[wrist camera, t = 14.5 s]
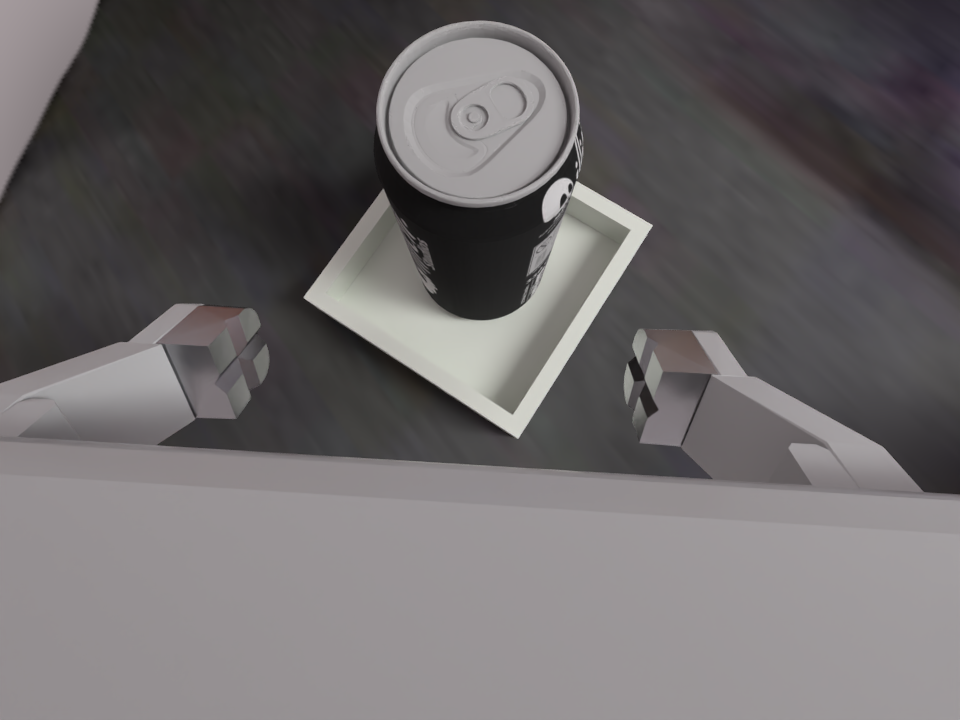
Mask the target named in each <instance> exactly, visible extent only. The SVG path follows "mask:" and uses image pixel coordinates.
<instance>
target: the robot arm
mask: <svg viewBox="0 0 960 720" xmlns="http://www.w3.org/2000/svg"><path fill="white" fill-rule="evenodd" d="M260 327H261V324H260V321H259V318H258V316H257V313H256V312H255V311H254V310H253V309H251V308H247V307H233V306H220V305H204V304H189V303H181V304H175V305H174V306H172V307H171V308H170V309H169V310H167V311H166V312H165V313H164V314H162V315H161V316H160V317H159V318H157V319H156V320H155V321H154V322H152V323H151V324H150V325H149V326H147V327H146V328H145V329H144V330H142V331H141V332H140V333H139V334H137V335H136V336H135V337H134V338H132V339H131V340H130V341H129V342H118V343H116V344H113V345H110V346H107V347H104V348H101V349H98V350H95V351H93V352H90V353H87V354H84V355H81V356H78V357H75V358H72V359H69V360H67V361H64V362H61V363H58V364H55V365H52V366H49V367H46V368H43V369H41V370H38V371H35V372H32V373H29V374H26V375H23V376H20V377H18V378H15V379H12V380H9V381H6V382H3V383H0V720H960V494H943V493H927V492H923V491H922V490H921V489H920V487H919V486H918V485H917V484H916V483H915V482H914V481H913V480H912V479H911V477H910V476H909V475H908V474H907V473H906V472H905V471H904V470H903V468H902V467H901V466H900V465H899V464H898V463H897V462H896V461H895V460H894V458H893V457H892V456H891V455H890V454H889V453H888V452H887V451H886V450H885V448H884V447H882V446H880V445H879V444H877V443H875V442H873V441H871V440H869V439H868V438H866V437H864V436H862V435H860V434H859V433H857V432H855V431H853V430H851V429H849V428H848V427H846V426H844V425H842V424H840V423H838V422H837V421H835V420H833V419H831V418H829V417H828V416H826V415H824V414H822V413H820V412H818V411H817V410H815V409H813V408H811V407H809V406H807V405H806V404H804V403H802V402H800V401H798V400H797V399H795V398H793V397H791V396H789V395H787V394H786V393H784V392H782V391H780V390H778V389H776V388H775V387H773V386H771V385H769V384H767V383H766V382H764V381H762V380H760V379H758V378H756V377H748V376H747V375H746V374H745V372H744V371H743V369H742V368H741V366H740V365H739V364H738V362H737V361H736V359H735V358H734V356H733V355H732V354H731V352H730V351H729V349H728V348H727V346H726V345H725V343H724V342H723V341H722V339H721V338H720V336H719V335H718V333H716V332H714V331H698V330H663V329H639V330H638V332H637V333H636V335H635V338H634V342H633V345H632V347H633V349H634V352H635V355H636V357H634V358H633V359H632V360H631V361H630V362H629V363H628V364H627V368H626V372H625V377H624V394H625V399H626V403H627V406H629V407H630V408H631V409H633V410H634V415H633V418H632V422H633V425H634V428H635V431H636V434H637V437H638V440H639V443H647V444H659V445H671V446H682V449H683V450H684V451H685V452H686V453H687V454H688V455H689V456H690V457H691V458H692V459H693V460H694V461H695V462H696V463H697V464H698V465H699V466H700V467H701V468H702V469H703V470H704V471H706V472H707V473H708V474H709V475H710V476H711V477H712V478H713V479H698V478H682V477H665V476H649V475H632V474H616V473H599V472H583V471H567V470H550V469H534V468H517V467H501V466H484V465H468V464H451V463H435V462H419V461H402V460H386V459H369V458H353V457H337V456H320V455H304V454H288V453H271V452H255V451H239V450H222V449H206V448H190V447H173V446H157V444H159V443H160V442H162V441H163V440H165V439H166V438H168V437H169V436H171V435H172V434H174V433H175V432H177V431H179V430H180V429H182V428H183V427H185V426H186V425H188V424H189V423H191V422H192V421H194V420H195V418H223V419H236V418H237V417H238V416H239V414H240V413H241V411H242V410H243V409H244V407H245V406H246V404H247V403H248V402H249V400H250V399H251V396H250V393H249V390H251V389H253V388H255V387H257V386H259V385H260V384H261V383H262V382H263V380H264V379H265V377H266V375H267V371H268V367H269V352H268V348H267V345H266V343H265V342H264V341H263V340H262V339H261V338H260V337H259V336H258V335H257V333H258V331H259V329H260Z"/></svg>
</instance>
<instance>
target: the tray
mask: <svg viewBox="0 0 960 720" xmlns="http://www.w3.org/2000/svg"><path fill="white" fill-rule="evenodd" d="M652 226H653V225H651V224H649V223H648V222H646V221H644V220H642V219H641V218H639V217H637V216H636V215H634V214H632V213H630V212H629V211H627V210H625V209H623V208H622V207H620V206H618V205H617V204H615V203H613V202H611V201H610V200H608V199H606V198H604V197H603V196H601V195H599V194H598V193H596V192H594V191H592V190H591V189H589V188H587V187H585V186H584V185H582V184H580V183H579V182H577V181H576V184H575V186H574V189H573V192H572V195H571V198H570V200H569V203H568V206H567V209H566V212H565V214H564V217H563V220H562V223H561V225H560V228H559V231H558V234H557V237H556V239H555V242H554V245H553V248H552V251H551V253H550V256H549V259H548V262H547V264H546V267H545V270H544V273H543V276H542V278H541V281H540V284H539V286H538V288H537V289H536V291H535V293H534V294H533V295H532V297H531V298H530V299H529V300H528V301H527V302H526V303H525V304H524V305H523V306H522V307H520V308H519V309H517V310H516V311H514V312H513V313H511V314H509V315H506V316H504V317H501V318H497V319H492V320H470V319H465V318H461V317H458V316H456V315H454V314H451V313H450V312H448V311H446V310H445V309H443V308H442V307H441V306H439V305H438V304H437V303H436V302H435V301H434V300H433V299H432V298H431V296H430V295H429V294H428V292H427V290H426V289H425V287H424V285H423V283H422V280H421V278H420V275H419V273H418V270H417V268H416V266H415V263H414V261H413V258H412V256H411V254H410V251H409V249H408V246H407V244H406V242H405V239H404V237H403V234H402V232H401V230H400V227H399V225H398V222H397V220H396V217H395V215H394V213H393V210H392V208H391V205H390V203H389V201H388V198H387V196H386V193H385V191H384V189H383V190H382V191H381V192H380V194H379V195H378V197H377V198H376V199H375V201H374V202H373V203H372V205H371V206H370V207H369V209H368V210H367V212H366V213H365V214H364V216H363V217H362V218H361V220H360V221H359V222H358V224H357V225H356V226H355V228H354V229H353V231H352V232H351V233H350V235H349V236H348V237H347V239H346V240H345V241H344V243H343V244H342V246H341V247H340V248H339V250H338V251H337V252H336V254H335V255H334V256H333V258H332V259H331V261H330V262H329V263H328V265H327V266H326V267H325V269H324V270H323V271H322V273H321V274H320V276H319V277H318V278H317V280H316V281H315V282H314V284H313V285H312V286H311V288H310V289H309V291H308V292H307V293H306V295H305V296H304V297H303V298H304V299H306V300H307V301H308V302H310V303H311V304H312V305H314V306H315V307H316V308H318V309H319V310H321V311H322V312H324V313H325V314H327V315H328V316H330V317H331V318H333V319H334V320H336V321H337V322H339V323H340V324H342V325H343V326H345V327H346V328H348V329H349V330H351V331H352V332H354V333H356V334H357V335H359V336H360V337H362V338H363V339H365V340H366V341H368V342H369V343H371V344H372V345H374V346H375V347H377V348H378V349H380V350H381V351H383V352H384V353H386V354H388V355H389V356H391V357H392V358H394V359H395V360H397V361H398V362H400V363H401V364H403V365H404V366H406V367H407V368H409V369H410V370H412V371H413V372H415V373H416V374H418V375H419V376H421V377H423V378H424V379H426V380H427V381H429V382H430V383H432V384H433V385H435V386H436V387H438V388H439V389H441V390H442V391H444V392H445V393H447V394H448V395H450V396H451V397H453V398H455V399H456V400H458V401H459V402H461V403H462V404H464V405H465V406H467V407H468V408H470V409H471V410H473V411H474V412H476V413H477V414H479V415H480V416H482V417H483V418H485V419H486V420H488V421H490V422H491V423H493V424H494V425H496V426H497V427H499V428H500V429H502V430H503V431H505V432H506V433H508V434H509V435H511V436H512V437H514V438H516V439H518V438H519V437H520V435H521V433H522V432H523V430H524V429H525V427H526V426H527V424H528V422H529V421H530V419H531V418H532V416H533V414H534V413H535V411H536V410H537V408H538V407H539V405H540V403H541V402H542V400H543V399H544V397H545V395H546V394H547V392H548V391H549V389H550V388H551V386H552V384H553V383H554V381H555V380H556V378H557V376H558V375H559V373H560V372H561V370H562V369H563V367H564V365H565V364H566V362H567V361H568V359H569V357H570V356H571V354H572V353H573V351H574V350H575V348H576V346H577V345H578V343H579V342H580V340H581V338H582V337H583V335H584V334H585V332H586V331H587V329H588V327H589V326H590V324H591V323H592V321H593V319H594V318H595V316H596V315H597V313H598V312H599V310H600V308H601V307H602V305H603V304H604V302H605V300H606V299H607V297H608V296H609V294H610V293H611V291H612V289H613V288H614V286H615V285H616V283H617V281H618V280H619V278H620V277H621V275H622V273H623V272H624V270H625V269H626V267H627V266H628V264H629V262H630V261H631V259H632V258H633V256H634V254H635V253H636V251H637V250H638V248H639V247H640V245H641V243H642V242H643V240H644V239H645V237H646V235H647V234H648V232H649V231H650V229H651V228H652Z"/></svg>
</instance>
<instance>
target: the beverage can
mask: <svg viewBox="0 0 960 720" xmlns="http://www.w3.org/2000/svg"><path fill="white" fill-rule="evenodd" d="M376 119H377V126H376V130H375V137H374V158H375V164H376V169H377V173H378V176H379V179H380V181H381V184H382V186H383V189H384V191H385V193H386V196H387V198H388V201H389V203H390V205H391V208H392V210H393V213H394V215H395V217H396V220H397V222H398V225H399V227H400V230H401V232H402V234H403V237H404V239H405V242H406V244H407V246H408V249H409V251H410V254H411V256H412V258H413V261H414V263H415V266H416V268H417V270H418V273H419V275H420V278H421V280H422V283H423V285H424V287H425V289H426V290H427V292H428V294H429V295H430V296H431V298H432V299H433V300H434V301H435V302H436V303H437V304H438V305H439V306H441V307H442V308H443V309H445V310H446V311H448V312H450V313H451V314H454V315H456V316H458V317H461V318H465V319H470V320H492V319H497V318H501V317H504V316H506V315H509V314H511V313H513V312H514V311H516V310H517V309H519V308H520V307H522V306H523V305H524V304H525V303H526V302H527V301H528V300H529V299H530V298H531V297H532V295H533V294H534V293H535V291H536V289H537V288H538V286H539V284H540V281H541V278H542V276H543V273H544V270H545V267H546V264H547V262H548V259H549V256H550V253H551V251H552V248H553V245H554V242H555V239H556V237H557V234H558V231H559V228H560V225H561V223H562V220H563V217H564V214H565V212H566V209H567V206H568V203H569V200H570V198H571V195H572V192H573V189H574V186H575V184H576V181H577V178H578V175H579V172H580V168H581V164H582V158H583V134H582V129H581V124H580V119H579V101H578V94H577V90H576V87H575V84H574V81H573V79H572V76H571V74H570V72H569V70H568V69H567V67H566V65H565V64H564V62H563V61H562V60H561V59H560V57H559V56H558V55H557V54H556V53H555V52H554V51H553V50H552V49H551V48H550V47H549V46H548V45H547V44H546V43H544V42H543V41H541V40H540V39H539V38H537V37H536V36H534V35H532V34H530V33H528V32H526V31H524V30H521V29H519V28H517V27H514V26H511V25H507V24H503V23H499V22H492V21H468V22H460V23H455V24H450V25H447V26H444V27H440V28H438V29H436V30H433V31H431V32H429V33H427V34H425V35H424V36H422V37H420V38H419V39H417V40H416V41H414V42H413V43H412V44H410V45H409V46H408V47H407V48H406V49H405V50H404V51H403V52H402V53H401V54H400V55H399V56H398V57H397V58H396V60H395V61H394V62H393V64H392V65H391V66H390V68H389V69H388V71H387V73H386V75H385V77H384V79H383V82H382V84H381V87H380V90H379V94H378V99H377V105H376Z"/></svg>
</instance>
